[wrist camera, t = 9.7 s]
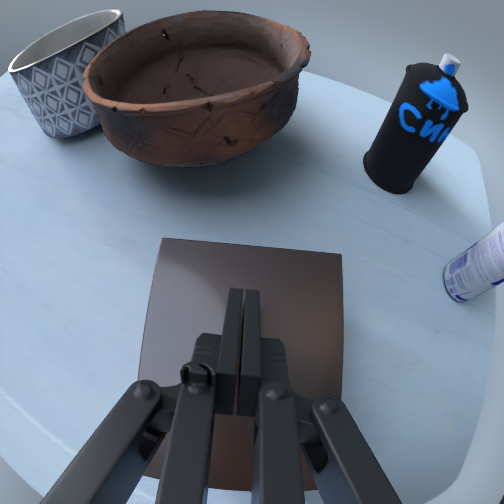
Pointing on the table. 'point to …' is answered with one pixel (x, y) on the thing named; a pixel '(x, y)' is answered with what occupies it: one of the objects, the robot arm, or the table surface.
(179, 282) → the chest lid
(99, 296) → the table surface
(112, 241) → the table surface
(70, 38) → the planter
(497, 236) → the beverage can
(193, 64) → the bowl
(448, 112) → the aerosol can
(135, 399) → the robot arm
